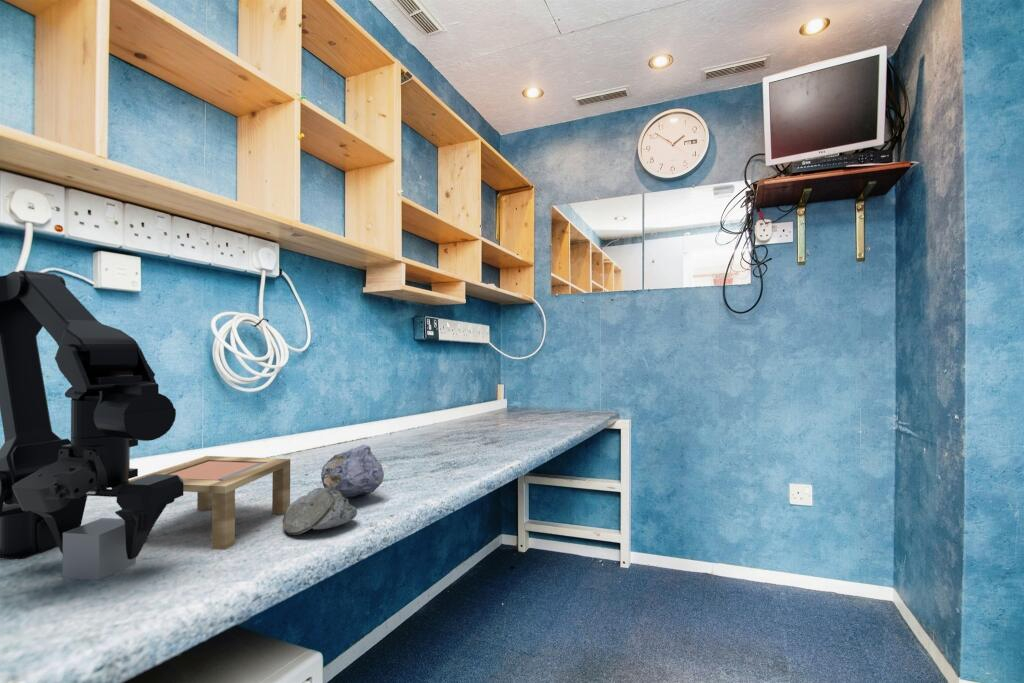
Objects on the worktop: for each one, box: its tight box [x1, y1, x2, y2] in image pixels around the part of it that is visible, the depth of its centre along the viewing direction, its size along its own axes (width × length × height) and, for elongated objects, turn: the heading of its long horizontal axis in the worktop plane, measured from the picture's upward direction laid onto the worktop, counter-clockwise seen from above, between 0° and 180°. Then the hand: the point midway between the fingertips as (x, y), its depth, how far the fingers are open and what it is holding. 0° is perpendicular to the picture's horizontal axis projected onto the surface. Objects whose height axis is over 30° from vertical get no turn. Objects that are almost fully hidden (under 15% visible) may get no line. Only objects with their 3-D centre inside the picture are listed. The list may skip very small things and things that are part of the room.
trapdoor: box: [169, 461, 264, 481], centre depth 76 cm, size 10×10×1 cm
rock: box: [320, 444, 385, 498], centre depth 88 cm, size 11×10×10 cm
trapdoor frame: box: [129, 455, 291, 551], centre depth 76 cm, size 16×16×9 cm
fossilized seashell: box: [282, 486, 358, 536], centre depth 77 cm, size 10×9×10 cm
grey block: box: [61, 517, 137, 581], centre depth 61 cm, size 5×5×6 cm
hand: (100, 556), depth 61 cm, fingers open, 9 cm apart
